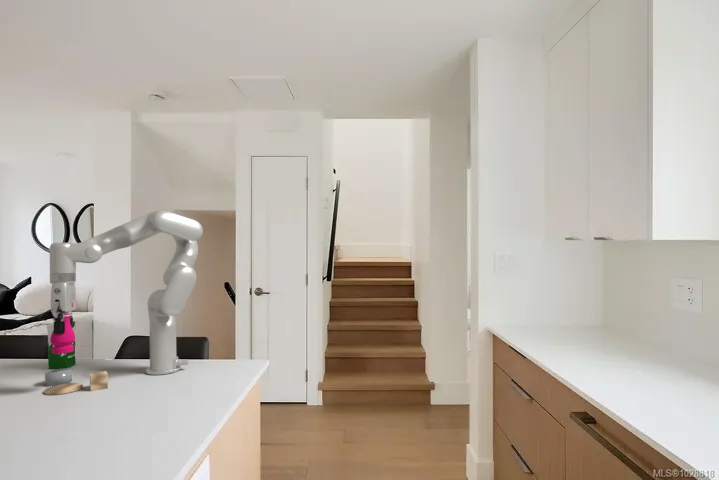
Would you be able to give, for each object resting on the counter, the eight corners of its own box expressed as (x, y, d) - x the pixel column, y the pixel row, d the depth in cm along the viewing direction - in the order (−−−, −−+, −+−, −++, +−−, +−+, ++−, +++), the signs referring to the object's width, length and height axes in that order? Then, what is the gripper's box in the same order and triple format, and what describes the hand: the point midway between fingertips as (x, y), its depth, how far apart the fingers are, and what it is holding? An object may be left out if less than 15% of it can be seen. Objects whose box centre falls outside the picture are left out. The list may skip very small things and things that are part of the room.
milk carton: (68, 369, 184) (67, 319, 184) (44, 370, 183) (43, 320, 183) (79, 363, 193) (78, 316, 193) (56, 364, 192) (55, 316, 192)
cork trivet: (87, 383, 163) (87, 381, 163) (76, 393, 152) (76, 391, 152) (52, 386, 160) (52, 384, 160) (38, 396, 149) (38, 394, 149)
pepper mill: (63, 354, 152) (62, 294, 152) (44, 353, 153) (44, 294, 154) (80, 349, 159) (80, 292, 159) (62, 349, 160) (62, 292, 161)
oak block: (106, 385, 161) (106, 370, 161) (107, 388, 157) (107, 374, 157) (89, 387, 159) (89, 373, 159) (90, 391, 154) (90, 376, 154)
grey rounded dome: (71, 377, 170) (70, 366, 170) (72, 382, 164) (72, 371, 164) (45, 382, 166) (44, 371, 165) (45, 388, 159) (45, 377, 159)
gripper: (65, 279, 149) (65, 335, 149) (83, 276, 166) (83, 327, 166) (39, 280, 147) (39, 337, 147) (60, 277, 164) (60, 328, 164)
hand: (63, 331), depth 156 cm, fingers closed on pepper mill, 5 cm apart
